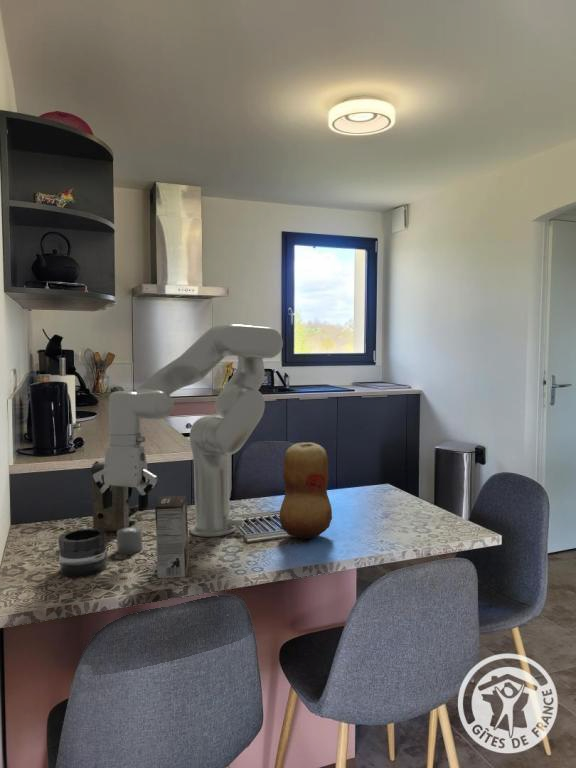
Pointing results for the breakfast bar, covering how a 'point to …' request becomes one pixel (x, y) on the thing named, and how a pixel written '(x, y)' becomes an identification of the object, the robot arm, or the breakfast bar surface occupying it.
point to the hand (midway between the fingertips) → (125, 508)
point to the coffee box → (172, 536)
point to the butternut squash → (305, 491)
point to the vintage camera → (119, 510)
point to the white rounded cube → (129, 540)
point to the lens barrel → (82, 552)
